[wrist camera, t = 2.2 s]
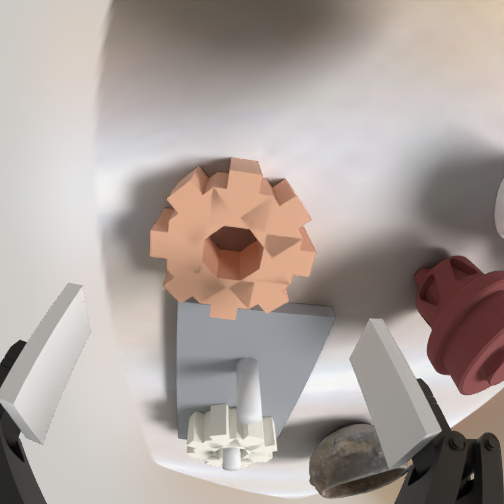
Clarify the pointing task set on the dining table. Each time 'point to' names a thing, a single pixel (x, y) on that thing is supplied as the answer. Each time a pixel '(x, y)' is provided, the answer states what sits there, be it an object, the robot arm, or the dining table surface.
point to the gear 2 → (229, 437)
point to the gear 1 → (227, 261)
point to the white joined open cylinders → (500, 210)
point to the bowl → (351, 463)
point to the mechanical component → (464, 322)
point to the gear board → (241, 339)
